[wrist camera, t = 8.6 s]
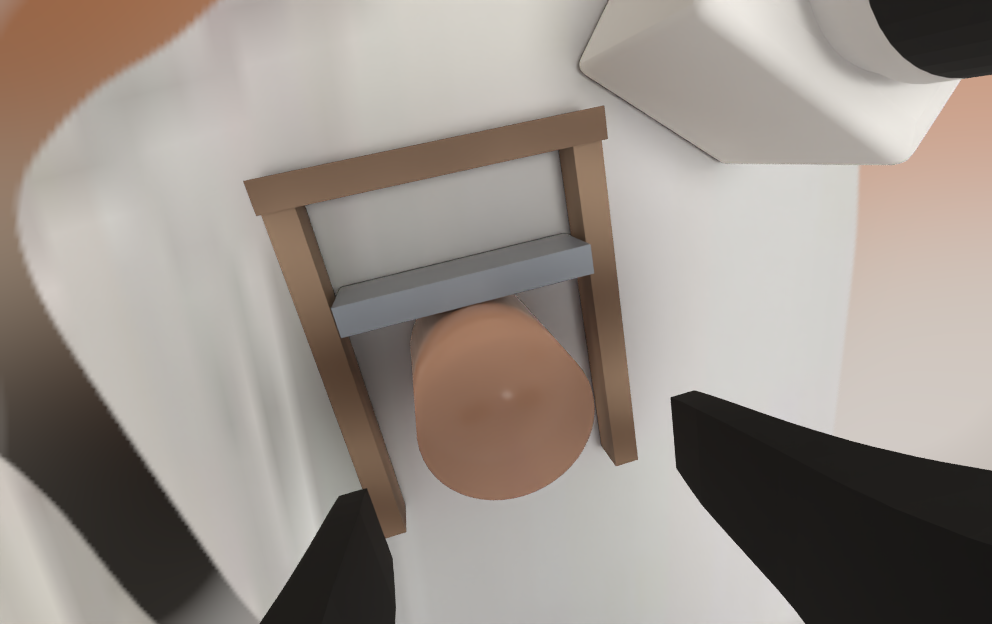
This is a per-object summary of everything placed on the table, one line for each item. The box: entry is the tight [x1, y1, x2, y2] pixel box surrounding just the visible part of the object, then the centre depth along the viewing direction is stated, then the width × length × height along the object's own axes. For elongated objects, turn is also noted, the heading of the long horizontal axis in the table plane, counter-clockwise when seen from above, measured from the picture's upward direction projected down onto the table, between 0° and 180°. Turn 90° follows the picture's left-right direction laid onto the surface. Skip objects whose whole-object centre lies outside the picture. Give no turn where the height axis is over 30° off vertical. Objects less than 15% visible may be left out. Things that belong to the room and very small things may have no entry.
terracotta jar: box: [410, 294, 595, 500], centre depth 16 cm, size 5×5×6 cm
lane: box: [243, 106, 638, 538], centre depth 17 cm, size 14×11×2 cm
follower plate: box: [331, 233, 594, 338], centre depth 16 cm, size 1×8×2 cm, turn 102°
